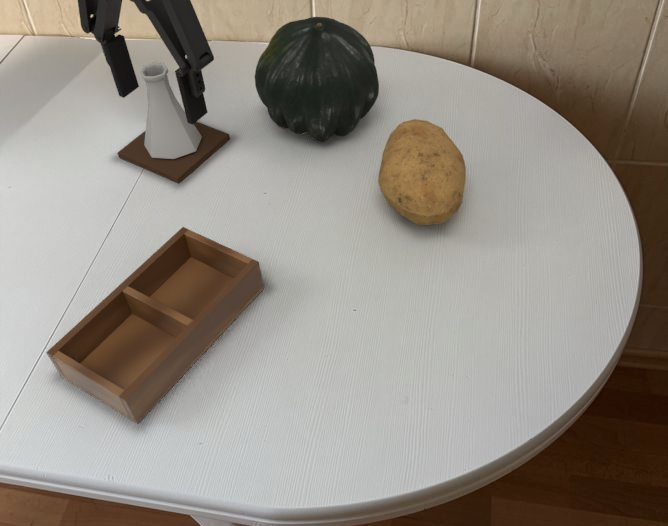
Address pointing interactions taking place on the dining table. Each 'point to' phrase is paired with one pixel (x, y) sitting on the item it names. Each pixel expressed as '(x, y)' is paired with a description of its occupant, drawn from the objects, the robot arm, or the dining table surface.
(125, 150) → the coaster
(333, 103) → the squash
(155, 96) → the flask
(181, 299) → the wooden divided tray
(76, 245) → the dining table surface
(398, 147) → the potato
